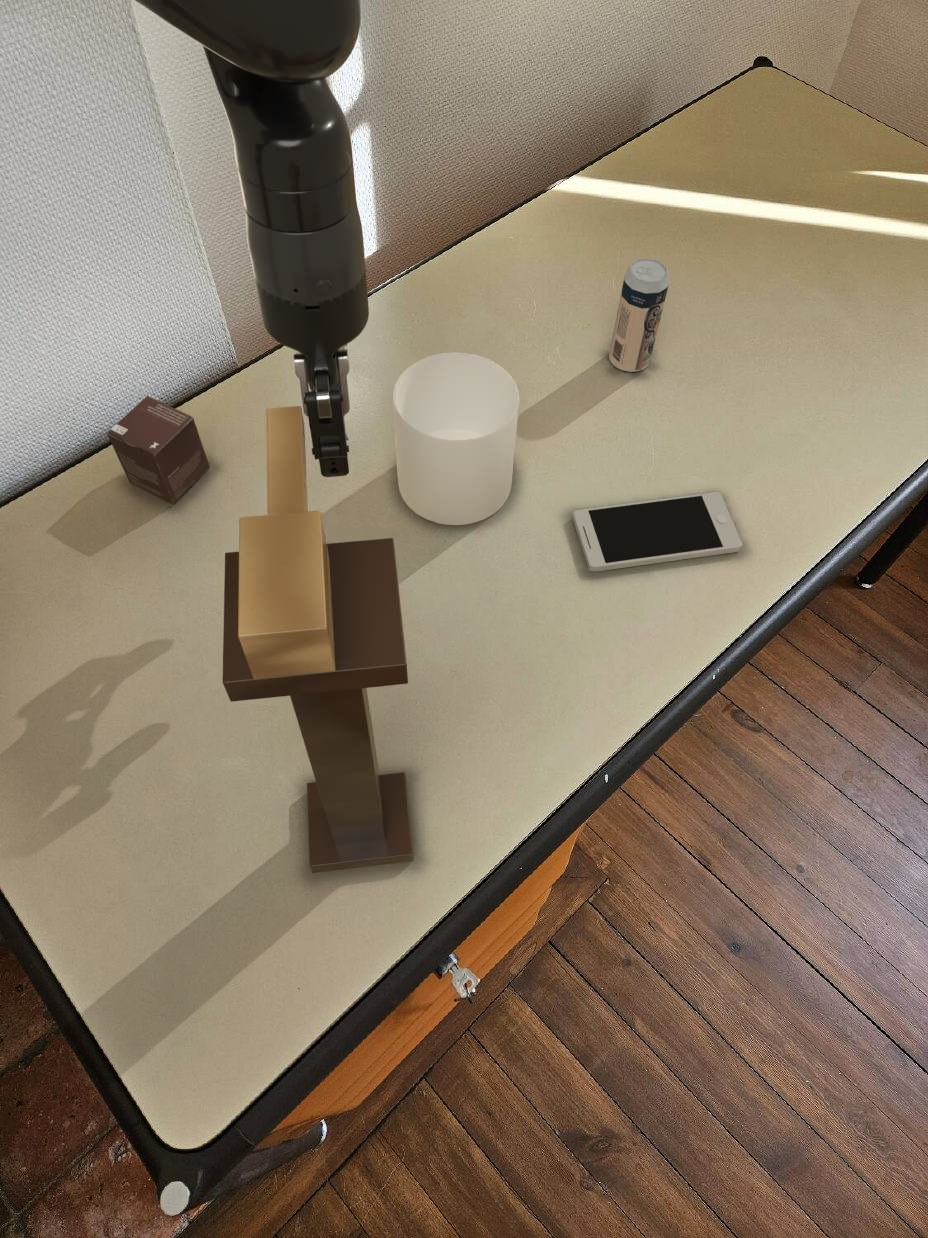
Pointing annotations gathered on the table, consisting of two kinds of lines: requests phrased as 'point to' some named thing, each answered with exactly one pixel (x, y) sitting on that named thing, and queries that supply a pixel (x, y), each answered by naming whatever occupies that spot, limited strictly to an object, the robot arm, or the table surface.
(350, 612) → the stand
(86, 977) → the table surface
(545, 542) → the table surface
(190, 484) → the box
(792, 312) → the table surface
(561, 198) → the table surface
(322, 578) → the wooden block
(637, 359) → the beer can
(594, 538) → the smartphone
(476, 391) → the cup
